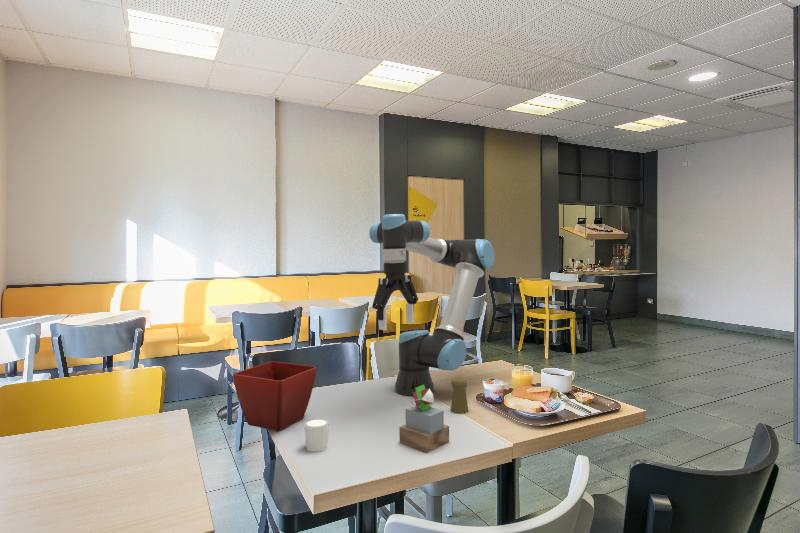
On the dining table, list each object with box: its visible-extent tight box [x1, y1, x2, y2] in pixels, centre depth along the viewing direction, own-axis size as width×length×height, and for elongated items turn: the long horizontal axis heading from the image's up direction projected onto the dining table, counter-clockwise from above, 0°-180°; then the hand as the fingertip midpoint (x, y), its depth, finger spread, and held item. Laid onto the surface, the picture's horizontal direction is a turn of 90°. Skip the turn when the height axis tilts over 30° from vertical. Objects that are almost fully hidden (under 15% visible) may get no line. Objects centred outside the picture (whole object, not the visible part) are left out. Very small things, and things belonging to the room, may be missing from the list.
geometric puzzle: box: [409, 385, 436, 411], centre depth 136 cm, size 7×7×8 cm
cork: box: [450, 377, 469, 415], centre depth 163 cm, size 6×6×11 cm
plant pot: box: [232, 361, 317, 432], centre depth 153 cm, size 19×19×17 cm
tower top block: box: [405, 404, 445, 434], centre depth 136 cm, size 6×9×5 cm, turn 48°
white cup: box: [303, 418, 330, 453], centre depth 134 cm, size 7×7×7 cm
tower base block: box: [398, 423, 450, 454], centre depth 137 cm, size 10×10×5 cm
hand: (396, 326), depth 158 cm, fingers open, 13 cm apart
